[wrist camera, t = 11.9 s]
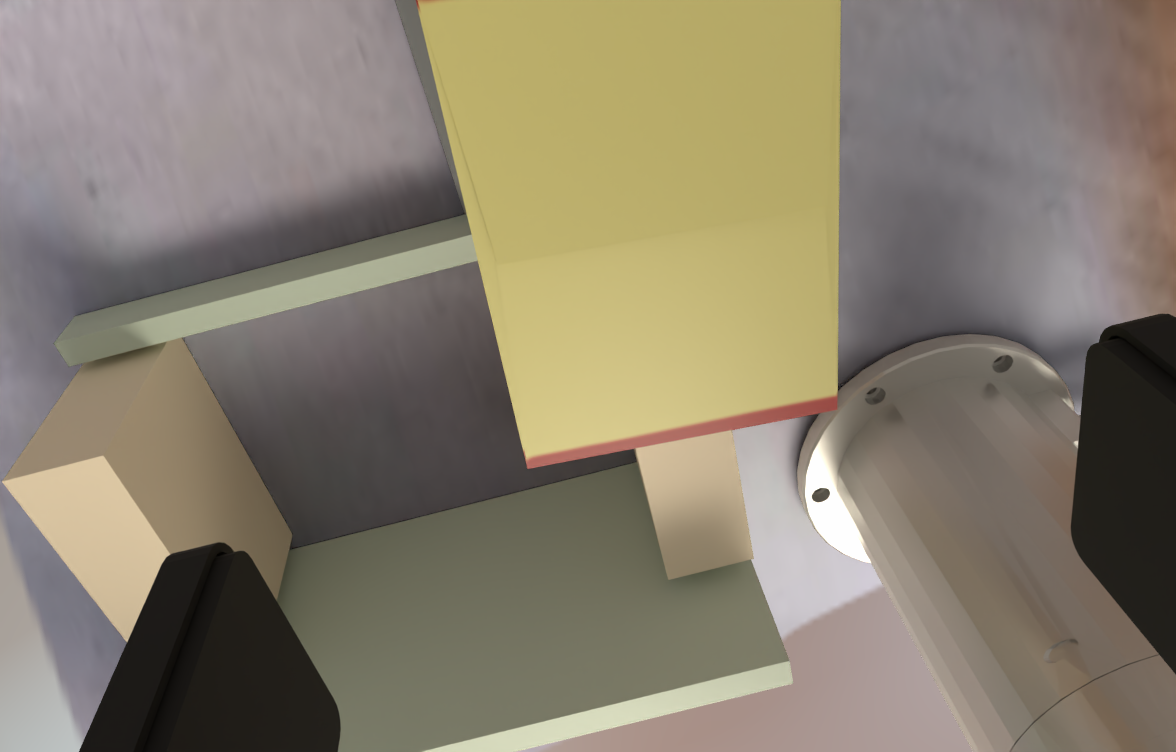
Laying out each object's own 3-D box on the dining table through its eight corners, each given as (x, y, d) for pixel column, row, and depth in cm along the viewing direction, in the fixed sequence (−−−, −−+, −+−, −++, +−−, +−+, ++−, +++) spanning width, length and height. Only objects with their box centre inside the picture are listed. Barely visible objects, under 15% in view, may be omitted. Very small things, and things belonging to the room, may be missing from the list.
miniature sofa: (653, 165, 32) (738, 325, 22) (710, 464, 40) (792, 683, 30) (74, 316, 33) (-99, 539, 23) (242, 582, 41) (169, 836, 31)
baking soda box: (682, 160, 32) (844, 420, 18) (501, 194, 31) (528, 480, 18) (654, -146, 26) (850, -101, 13) (437, -108, 26) (408, -21, 13)
